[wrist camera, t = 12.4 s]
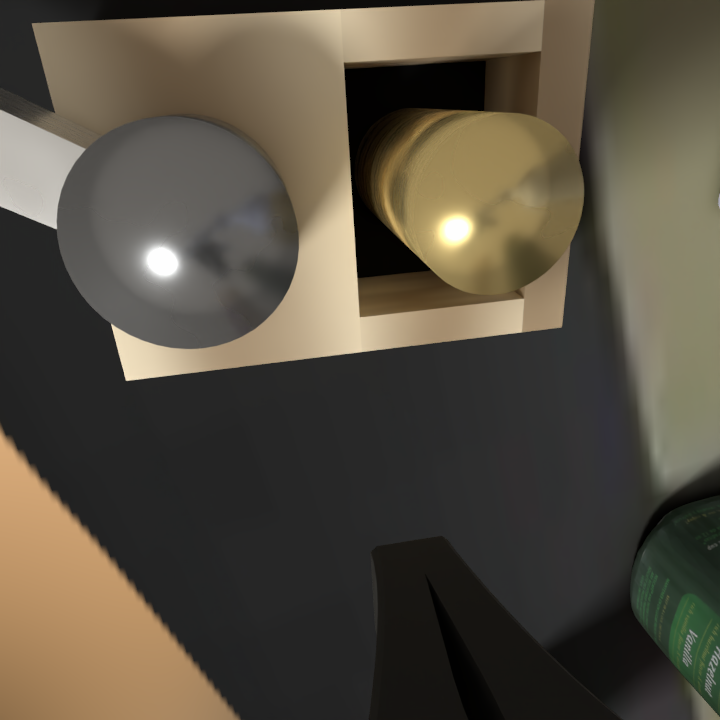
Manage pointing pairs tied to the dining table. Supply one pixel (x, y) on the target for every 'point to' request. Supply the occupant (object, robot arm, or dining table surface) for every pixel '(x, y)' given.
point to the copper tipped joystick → (156, 219)
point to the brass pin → (473, 193)
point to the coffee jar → (683, 592)
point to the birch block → (327, 148)
